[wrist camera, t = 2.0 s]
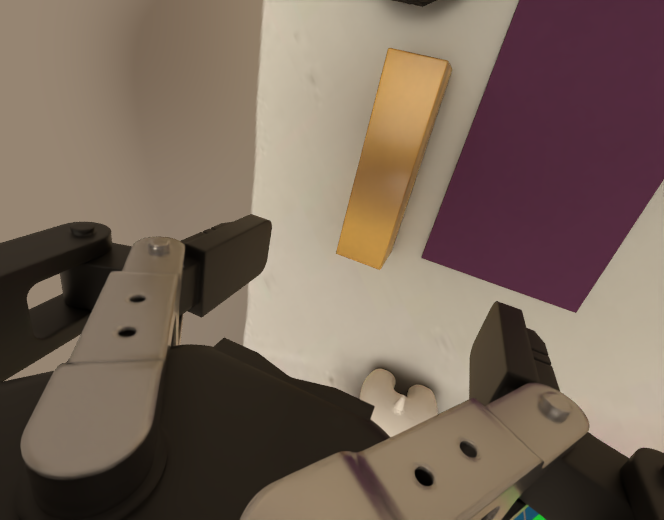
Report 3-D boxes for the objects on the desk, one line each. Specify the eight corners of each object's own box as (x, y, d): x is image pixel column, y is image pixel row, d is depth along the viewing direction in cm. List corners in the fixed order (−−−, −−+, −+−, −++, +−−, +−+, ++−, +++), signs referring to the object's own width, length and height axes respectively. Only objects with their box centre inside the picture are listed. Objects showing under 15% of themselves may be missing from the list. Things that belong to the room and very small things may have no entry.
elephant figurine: (334, 425, 37) (297, 507, 29) (362, 335, 32) (325, 407, 24) (423, 468, 35) (409, 568, 27) (469, 379, 29) (467, 473, 22)
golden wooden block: (400, 56, 23) (388, 47, 19) (452, 68, 22) (448, 60, 19) (351, 237, 29) (335, 253, 25) (391, 252, 28) (380, 270, 24)
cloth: (551, -84, 18) (552, -87, 18) (812, -53, 16) (818, -55, 15) (421, 256, 27) (421, 258, 27) (575, 310, 25) (575, 312, 24)
